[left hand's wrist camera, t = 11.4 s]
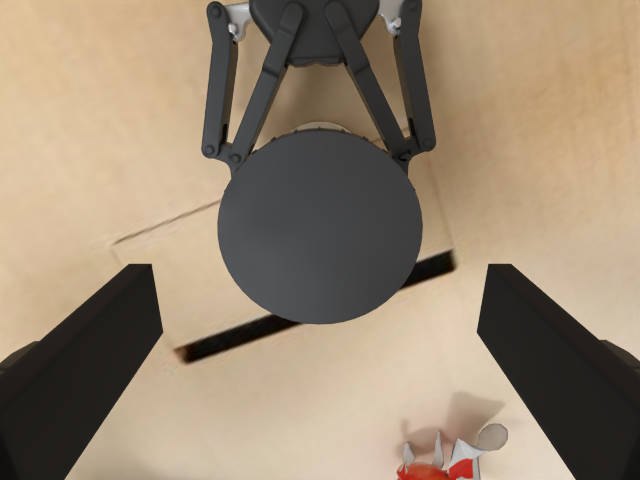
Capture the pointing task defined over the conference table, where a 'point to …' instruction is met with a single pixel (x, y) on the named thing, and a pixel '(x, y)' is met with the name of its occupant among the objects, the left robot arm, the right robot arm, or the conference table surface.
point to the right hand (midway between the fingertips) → (321, 243)
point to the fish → (453, 458)
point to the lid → (320, 226)
